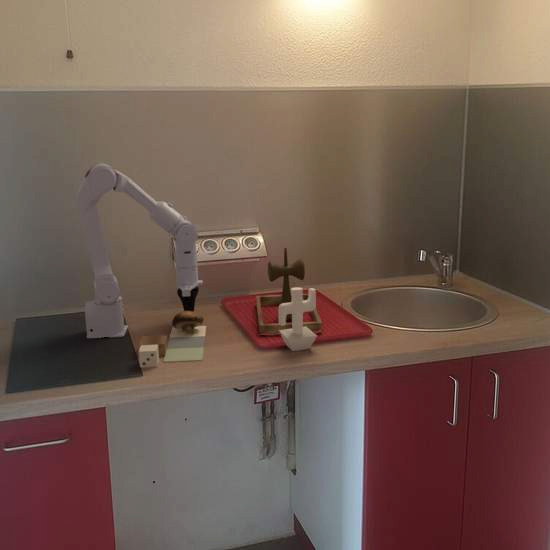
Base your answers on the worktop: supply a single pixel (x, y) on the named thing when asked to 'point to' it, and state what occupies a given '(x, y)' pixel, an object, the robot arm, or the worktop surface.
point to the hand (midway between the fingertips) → (189, 314)
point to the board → (185, 345)
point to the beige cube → (149, 356)
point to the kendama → (286, 277)
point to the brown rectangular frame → (275, 328)
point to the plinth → (156, 343)
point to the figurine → (297, 320)
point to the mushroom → (187, 321)
